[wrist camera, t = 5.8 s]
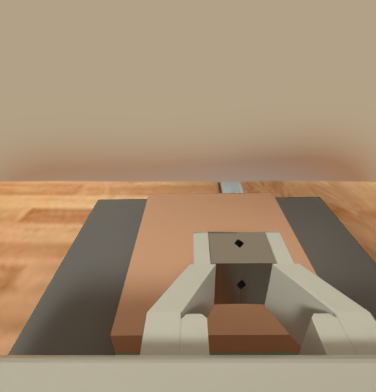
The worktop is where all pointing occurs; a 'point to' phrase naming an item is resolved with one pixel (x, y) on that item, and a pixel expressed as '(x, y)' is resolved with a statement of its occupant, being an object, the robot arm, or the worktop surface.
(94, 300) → the mat
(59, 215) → the worktop surface
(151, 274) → the tile
